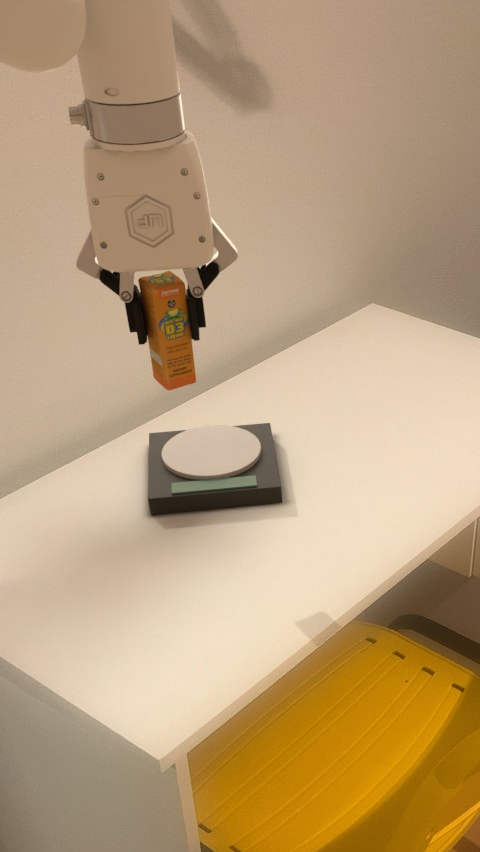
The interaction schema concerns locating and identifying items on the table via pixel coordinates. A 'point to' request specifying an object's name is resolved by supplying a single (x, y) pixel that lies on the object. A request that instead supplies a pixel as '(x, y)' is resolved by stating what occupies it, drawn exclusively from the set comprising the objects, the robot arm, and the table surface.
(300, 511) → the table surface
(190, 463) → the scale
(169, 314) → the supplement box
